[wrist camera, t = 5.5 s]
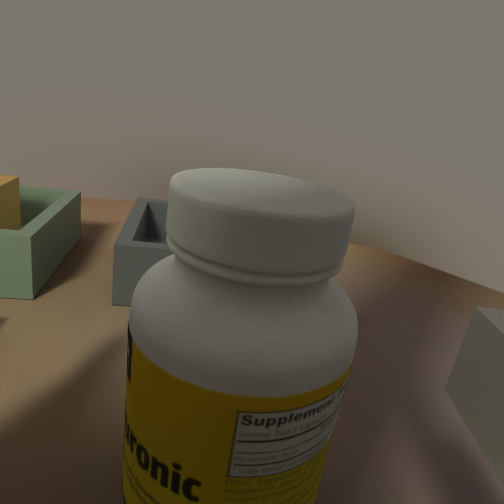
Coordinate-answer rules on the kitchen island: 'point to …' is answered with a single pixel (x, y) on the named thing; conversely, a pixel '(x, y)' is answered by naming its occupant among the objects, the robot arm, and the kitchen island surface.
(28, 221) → the sage bin
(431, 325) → the kitchen island surface
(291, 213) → the supplement bottle
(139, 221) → the charcoal bin
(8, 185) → the marked cube
